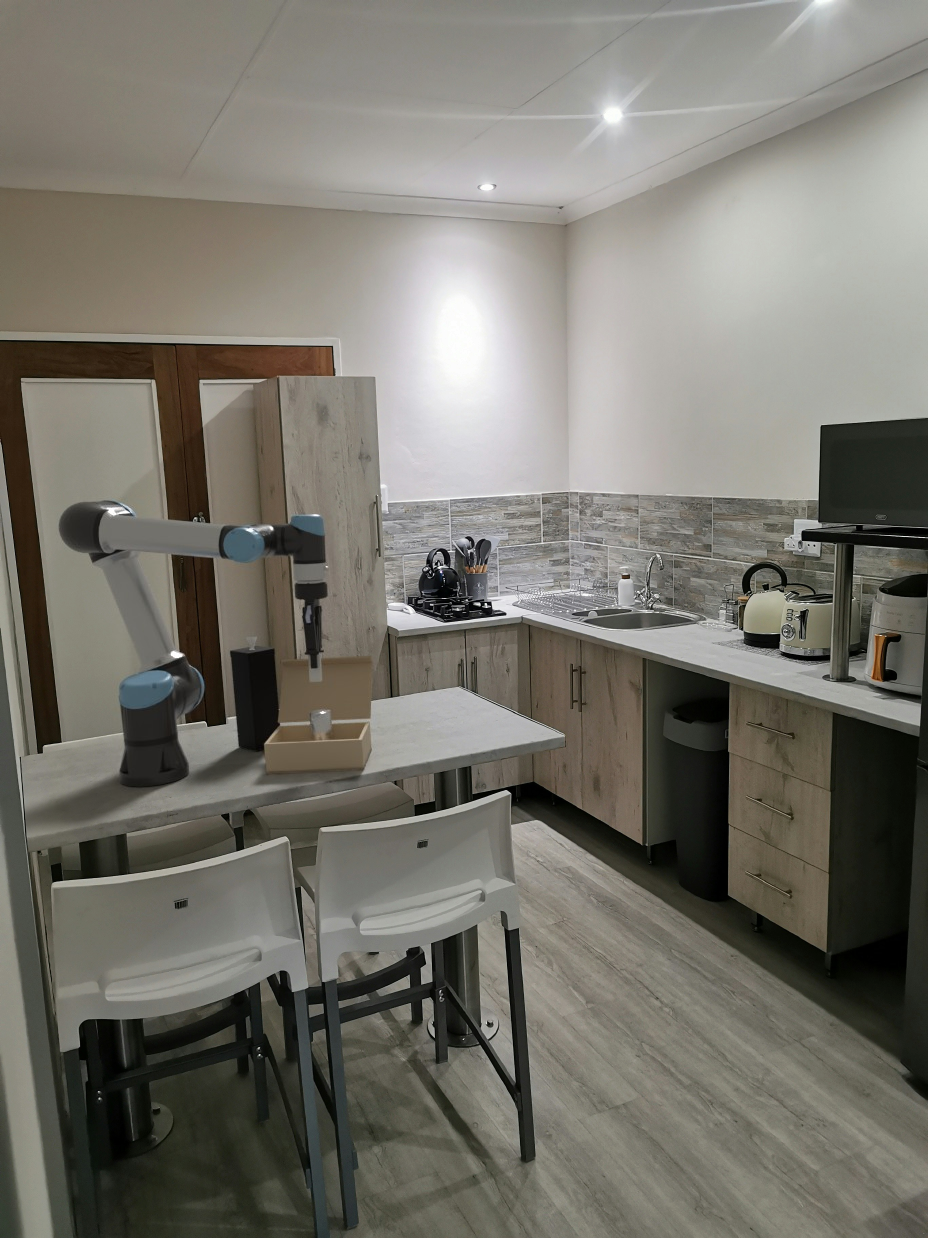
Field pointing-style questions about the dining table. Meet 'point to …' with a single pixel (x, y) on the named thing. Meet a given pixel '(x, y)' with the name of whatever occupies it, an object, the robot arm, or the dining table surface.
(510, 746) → the dining table surface
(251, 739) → the black pedestal
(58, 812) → the dining table surface
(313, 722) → the tin
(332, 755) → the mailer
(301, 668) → the lid
